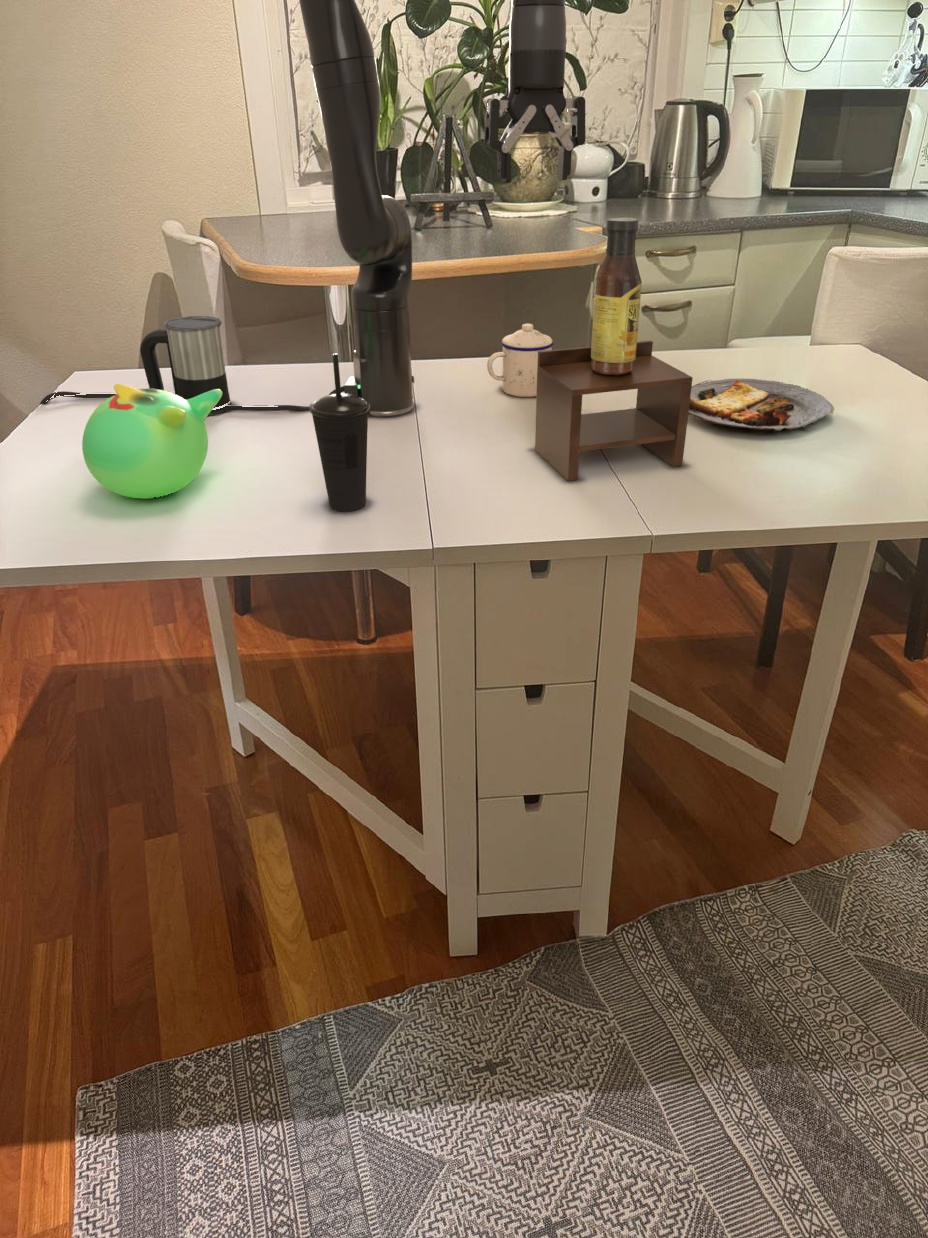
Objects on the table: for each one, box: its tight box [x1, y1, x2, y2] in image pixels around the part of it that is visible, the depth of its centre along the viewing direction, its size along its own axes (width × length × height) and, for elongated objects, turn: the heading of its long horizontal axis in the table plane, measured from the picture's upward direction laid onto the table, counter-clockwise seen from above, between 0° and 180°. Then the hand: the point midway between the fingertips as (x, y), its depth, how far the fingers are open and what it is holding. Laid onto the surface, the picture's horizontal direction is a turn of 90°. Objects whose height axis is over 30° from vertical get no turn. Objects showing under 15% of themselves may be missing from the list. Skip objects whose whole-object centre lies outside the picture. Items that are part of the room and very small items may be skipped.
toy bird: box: [81, 383, 222, 499], centre depth 123 cm, size 18×17×15 cm
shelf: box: [534, 340, 694, 482], centre depth 132 cm, size 18×13×15 cm
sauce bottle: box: [591, 217, 643, 375], centre depth 124 cm, size 7×6×20 cm
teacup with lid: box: [486, 323, 554, 398], centre depth 162 cm, size 12×9×12 cm
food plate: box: [688, 377, 835, 432], centre depth 151 cm, size 25×23×4 cm
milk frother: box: [139, 315, 233, 417], centre depth 151 cm, size 14×16×15 cm
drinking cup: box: [308, 353, 370, 513], centre depth 117 cm, size 8×8×20 cm
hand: (533, 181), depth 130 cm, fingers open, 8 cm apart
